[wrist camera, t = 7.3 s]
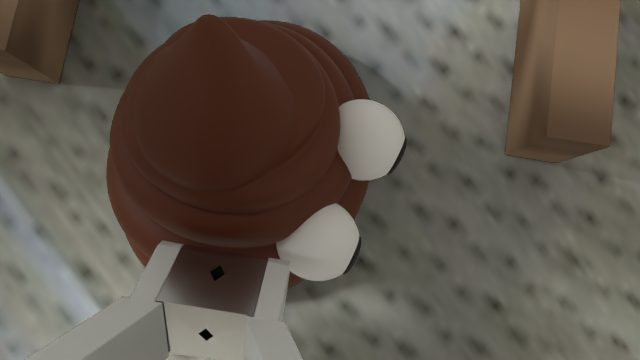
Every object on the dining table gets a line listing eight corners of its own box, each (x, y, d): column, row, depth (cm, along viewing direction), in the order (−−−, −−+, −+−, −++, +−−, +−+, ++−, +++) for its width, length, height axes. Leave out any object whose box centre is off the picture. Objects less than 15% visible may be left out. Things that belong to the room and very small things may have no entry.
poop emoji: (216, 7, 18) (112, -252, 8) (415, 98, 17) (537, -66, 8) (91, 240, 16) (-198, 242, 7) (304, 343, 16) (296, 485, 7)
